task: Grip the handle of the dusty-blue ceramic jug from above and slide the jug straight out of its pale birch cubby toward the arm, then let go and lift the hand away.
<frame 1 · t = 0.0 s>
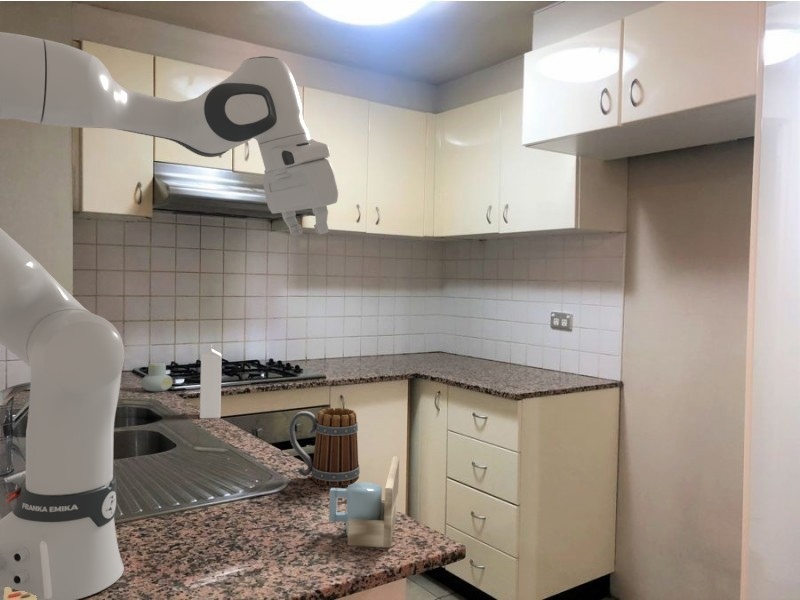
hand: (309, 234, 108), 52 cm above the counter, tool tilted 20°, fingers open, 8 cm apart
mug: (323, 479, 134), on the counter
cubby: (372, 533, 107), on the counter
air freshener: (156, 391, 224), on the counter
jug: (363, 533, 107), on the counter
milk: (210, 416, 188), on the counter
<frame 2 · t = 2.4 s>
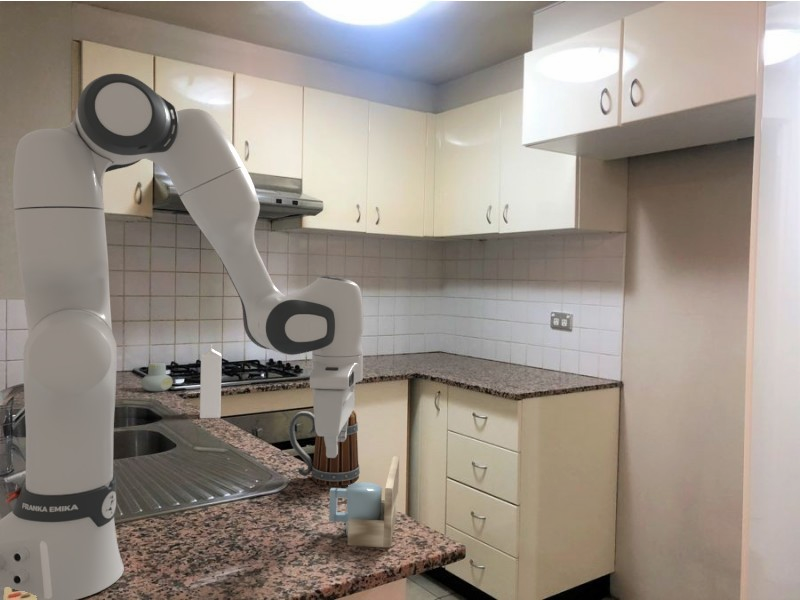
hand: (336, 448, 107), 15 cm above the counter, tool pointing down, fingers open, 8 cm apart
nothing on the counter moved.
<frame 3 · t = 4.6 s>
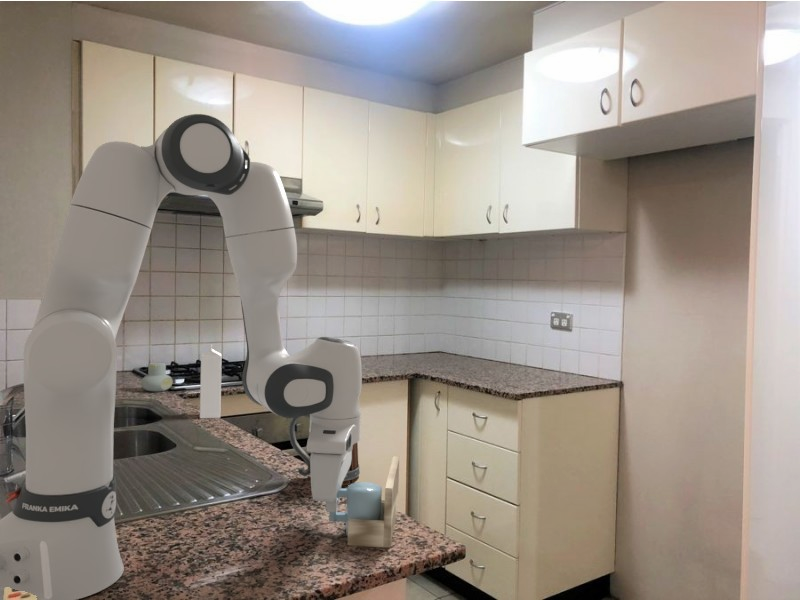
hand: (332, 507, 107), 4 cm above the counter, tool pointing down, fingers closed on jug
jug: (363, 532, 107), on the counter, touching gripper
everything else where it was.
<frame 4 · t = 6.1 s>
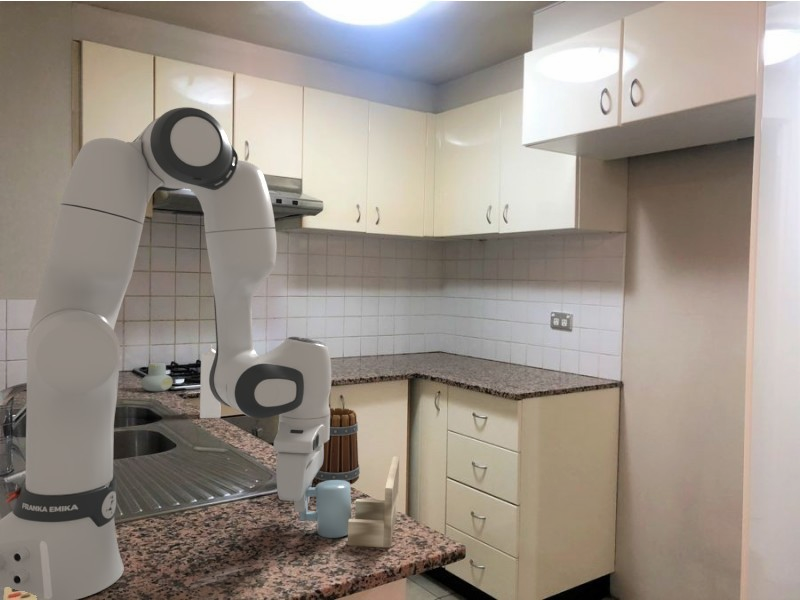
hand: (301, 507, 107), 4 cm above the counter, tool pointing down, fingers closed on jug
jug: (334, 530, 107), on the counter, touching gripper
everything else where it was.
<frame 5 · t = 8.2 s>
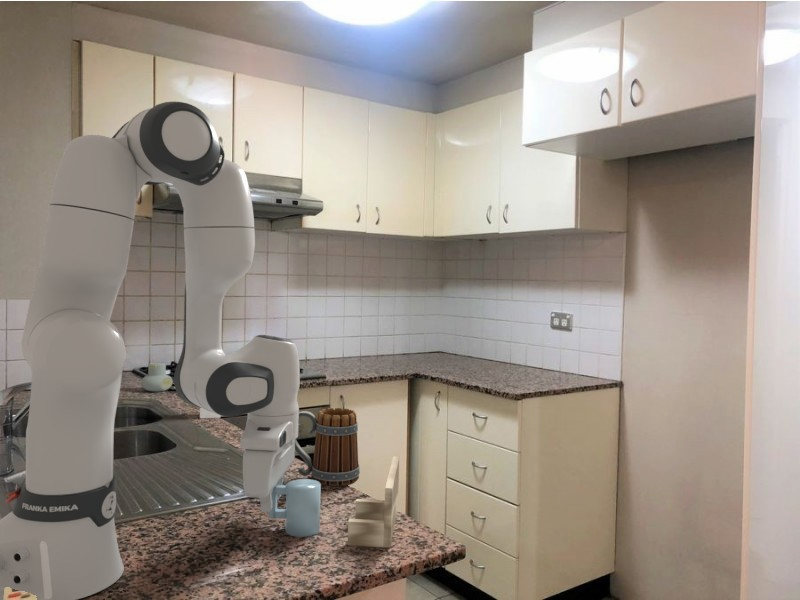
hand: (271, 504, 108), 4 cm above the counter, tool pointing down, fingers open, 4 cm apart
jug: (302, 529, 108), on the counter
everything else where it was.
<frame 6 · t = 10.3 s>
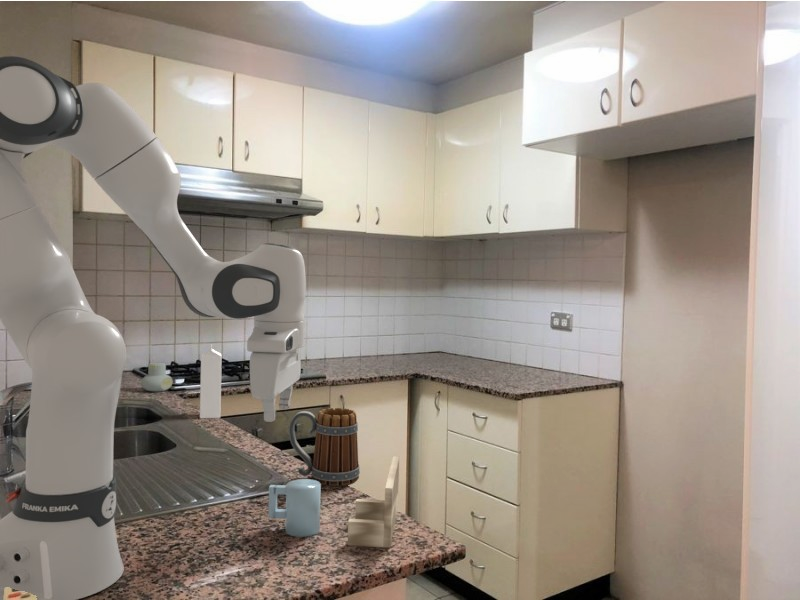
hand: (277, 414, 108), 20 cm above the counter, tool pointing down, fingers open, 8 cm apart
nothing on the counter moved.
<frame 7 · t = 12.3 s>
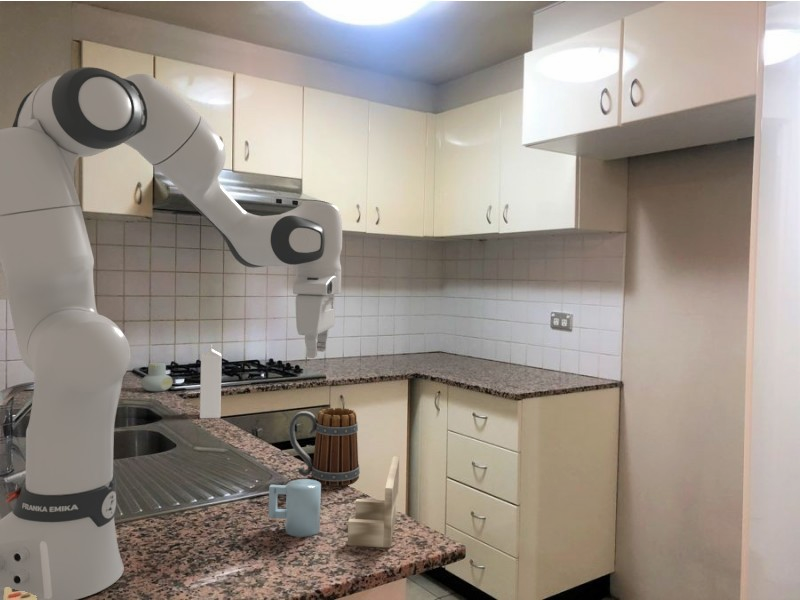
hand: (316, 354, 121), 29 cm above the counter, tool pointing down, fingers open, 8 cm apart
nothing on the counter moved.
at the end: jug inside the target area (0.3 cm from its centre), on the counter; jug tilted 0°; the gripper is holding nothing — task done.
